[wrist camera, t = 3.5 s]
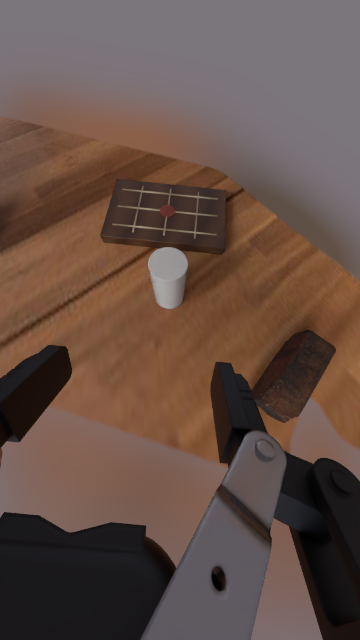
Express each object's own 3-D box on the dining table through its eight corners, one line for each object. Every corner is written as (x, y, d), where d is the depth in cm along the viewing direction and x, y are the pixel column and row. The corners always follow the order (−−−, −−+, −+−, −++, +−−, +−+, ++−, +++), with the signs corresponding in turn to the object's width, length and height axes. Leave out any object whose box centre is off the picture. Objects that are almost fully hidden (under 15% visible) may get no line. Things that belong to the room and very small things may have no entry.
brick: (286, 336, 26) (309, 327, 22) (311, 354, 25) (340, 348, 21) (245, 396, 23) (262, 400, 19) (271, 419, 23) (295, 428, 18)
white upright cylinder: (153, 307, 27) (145, 278, 19) (157, 281, 28) (151, 244, 21) (182, 310, 27) (186, 282, 19) (185, 284, 28) (189, 248, 21)
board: (103, 242, 30) (99, 234, 29) (119, 187, 34) (116, 178, 33) (222, 254, 30) (225, 247, 29) (224, 198, 34) (226, 189, 33)
